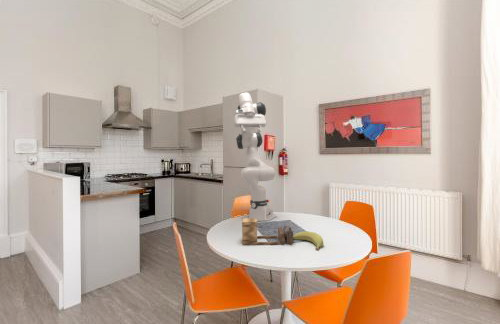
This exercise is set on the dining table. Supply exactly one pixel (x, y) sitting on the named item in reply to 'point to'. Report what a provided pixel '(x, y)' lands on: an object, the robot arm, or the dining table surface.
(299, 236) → the banana
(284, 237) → the wooden rack
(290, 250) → the dining table surface
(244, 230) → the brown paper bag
